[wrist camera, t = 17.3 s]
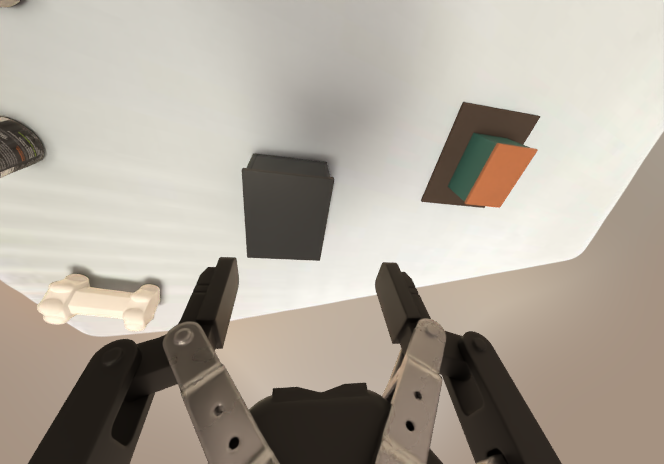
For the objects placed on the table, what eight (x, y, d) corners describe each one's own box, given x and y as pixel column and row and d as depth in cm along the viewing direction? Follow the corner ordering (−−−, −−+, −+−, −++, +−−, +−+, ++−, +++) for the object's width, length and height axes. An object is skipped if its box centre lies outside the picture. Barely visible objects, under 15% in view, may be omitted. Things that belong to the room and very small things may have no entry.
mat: (462, 102, 34) (464, 102, 34) (538, 115, 36) (540, 116, 36) (420, 200, 43) (421, 201, 43) (483, 206, 45) (484, 207, 45)
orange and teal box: (473, 131, 36) (499, 143, 31) (507, 137, 37) (538, 149, 33) (446, 187, 42) (465, 204, 37) (477, 190, 43) (500, 207, 38)
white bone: (161, 277, 47) (140, 313, 41) (162, 304, 52) (143, 340, 46) (67, 263, 43) (26, 300, 37) (77, 294, 48) (42, 331, 41)
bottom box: (250, 151, 35) (241, 169, 29) (329, 160, 37) (334, 179, 31) (253, 231, 43) (247, 257, 38) (317, 235, 45) (319, 260, 40)
